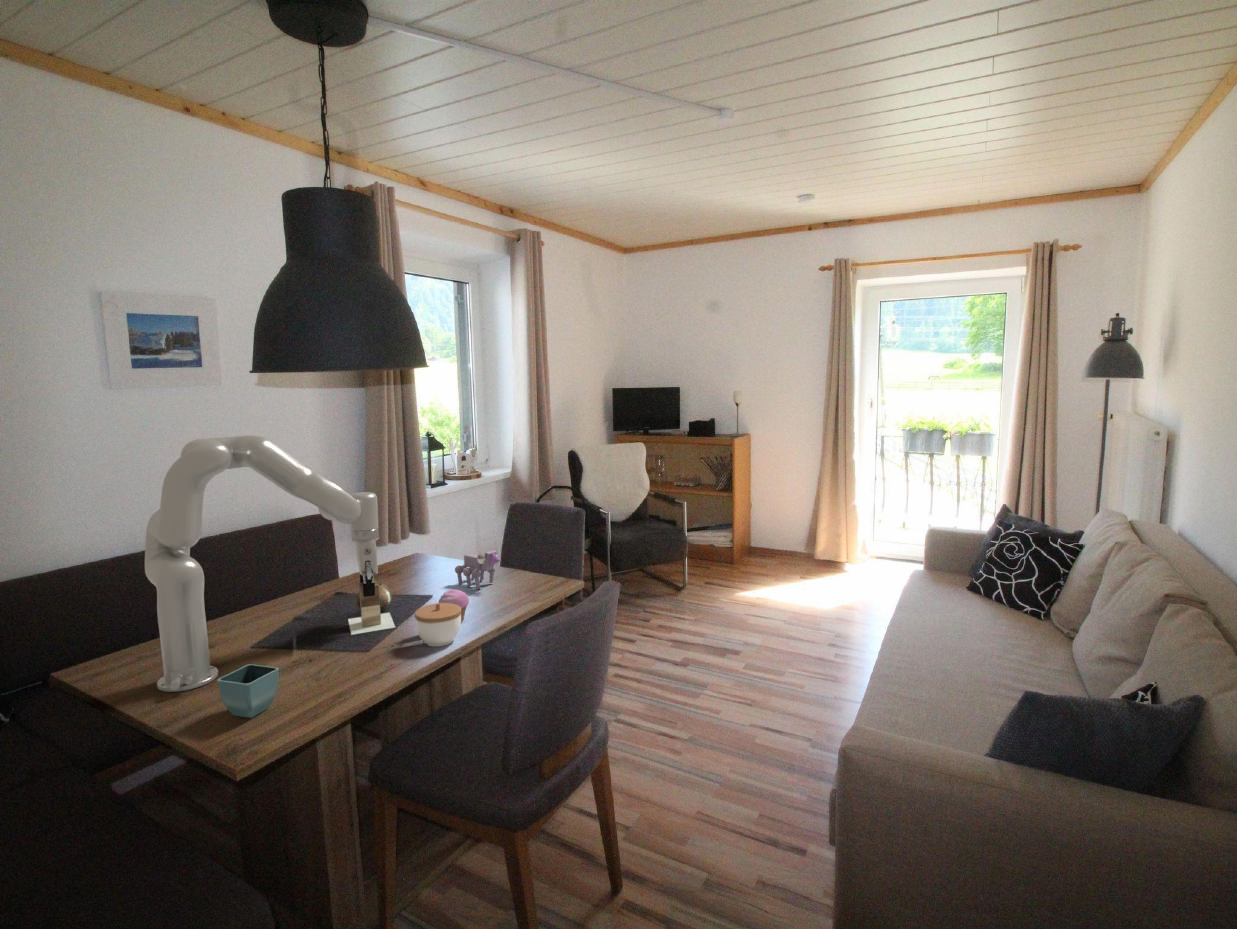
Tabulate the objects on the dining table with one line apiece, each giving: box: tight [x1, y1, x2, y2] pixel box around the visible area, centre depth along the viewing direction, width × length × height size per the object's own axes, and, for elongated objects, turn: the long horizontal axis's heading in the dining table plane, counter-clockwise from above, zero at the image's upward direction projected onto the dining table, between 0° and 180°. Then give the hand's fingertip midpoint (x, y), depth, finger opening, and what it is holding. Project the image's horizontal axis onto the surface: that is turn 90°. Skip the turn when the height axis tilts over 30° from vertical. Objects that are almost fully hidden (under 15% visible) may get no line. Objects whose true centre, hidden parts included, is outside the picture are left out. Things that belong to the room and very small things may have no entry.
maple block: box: [359, 602, 381, 627], centre depth 195 cm, size 5×5×6 cm
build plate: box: [347, 612, 396, 636], centre depth 195 cm, size 14×12×1 cm
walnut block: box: [358, 580, 381, 608], centre depth 194 cm, size 5×5×6 cm
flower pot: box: [216, 663, 280, 719], centre depth 145 cm, size 9×9×9 cm
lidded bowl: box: [414, 602, 462, 648], centre depth 183 cm, size 13×13×11 cm
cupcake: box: [437, 589, 470, 622], centre depth 197 cm, size 9×9×10 cm
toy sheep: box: [454, 549, 502, 590], centre depth 232 cm, size 20×11×14 cm, turn 53°
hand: (367, 591), depth 194 cm, fingers open, 9 cm apart
